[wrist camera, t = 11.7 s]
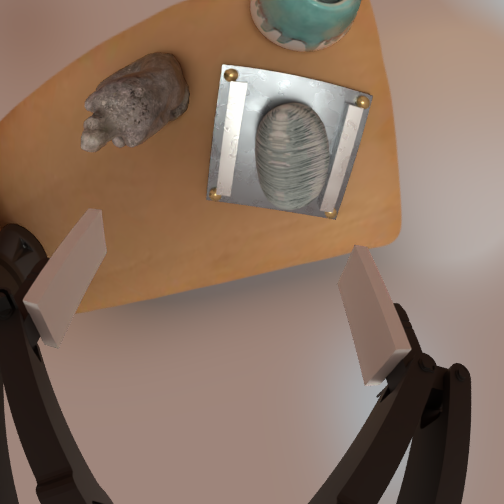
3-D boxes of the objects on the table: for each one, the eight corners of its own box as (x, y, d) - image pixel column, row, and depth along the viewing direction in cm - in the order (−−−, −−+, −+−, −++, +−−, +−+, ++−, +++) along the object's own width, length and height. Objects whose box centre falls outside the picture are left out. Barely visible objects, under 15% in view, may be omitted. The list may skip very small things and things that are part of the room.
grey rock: (331, 208, 41) (310, 225, 33) (269, 195, 45) (235, 209, 37) (342, 111, 36) (324, 100, 27) (277, 105, 40) (242, 96, 31)
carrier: (207, 196, 45) (204, 205, 43) (223, 64, 33) (220, 64, 31) (333, 215, 47) (337, 225, 45) (369, 94, 35) (377, 98, 33)
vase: (332, -26, 24) (381, -69, 10) (346, 49, 31) (407, 51, 17) (243, -19, 26) (231, -69, 12) (259, 57, 33) (260, 57, 19)
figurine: (97, 112, 37) (21, 155, 22) (120, 38, 30) (40, 42, 16) (175, 138, 40) (128, 195, 25) (206, 63, 33) (168, 70, 19)
